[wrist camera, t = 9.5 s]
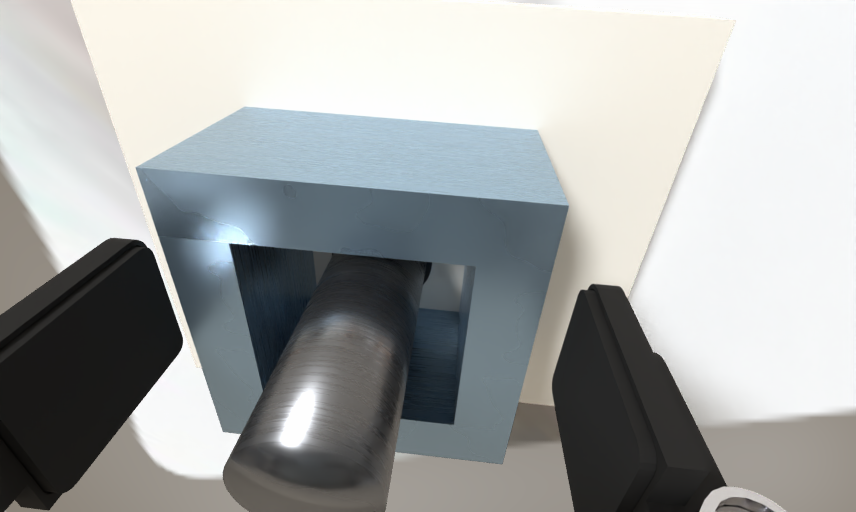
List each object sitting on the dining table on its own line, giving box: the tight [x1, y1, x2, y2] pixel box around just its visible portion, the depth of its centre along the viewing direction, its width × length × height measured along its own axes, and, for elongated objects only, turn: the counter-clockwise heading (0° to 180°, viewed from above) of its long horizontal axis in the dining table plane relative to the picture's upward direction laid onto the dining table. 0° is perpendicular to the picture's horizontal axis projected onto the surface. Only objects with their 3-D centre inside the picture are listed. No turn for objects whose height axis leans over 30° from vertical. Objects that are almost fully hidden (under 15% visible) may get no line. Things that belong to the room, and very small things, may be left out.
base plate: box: [71, 0, 736, 406], centre depth 13 cm, size 14×12×2 cm
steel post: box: [223, 253, 432, 512], centre depth 9 cm, size 3×3×7 cm
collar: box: [135, 107, 569, 464], centre depth 10 cm, size 7×7×4 cm
